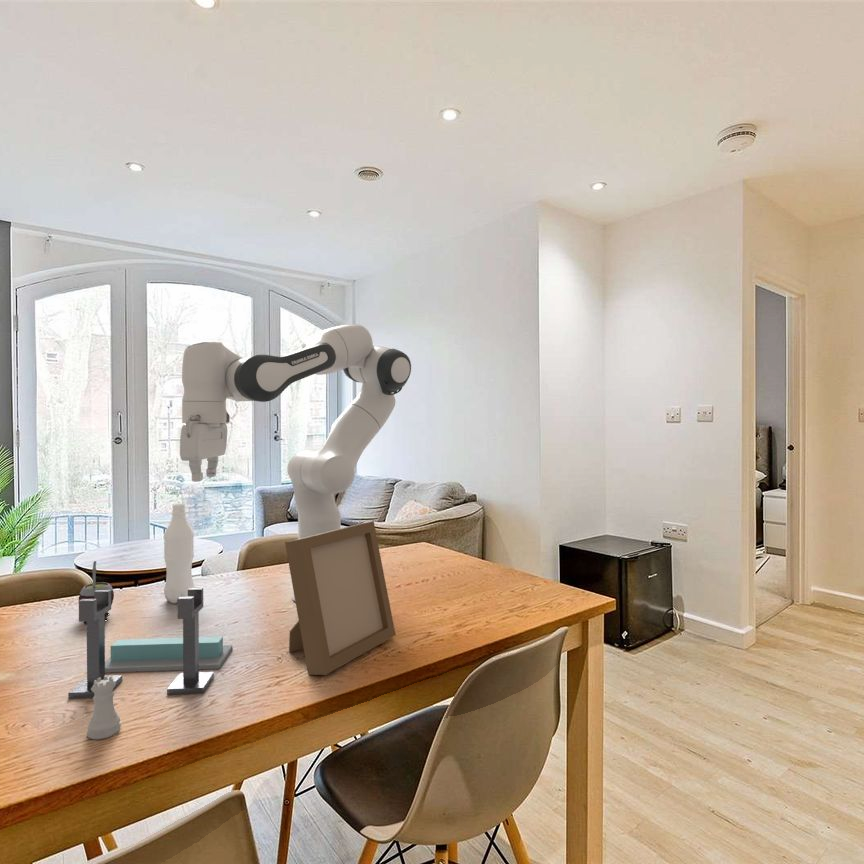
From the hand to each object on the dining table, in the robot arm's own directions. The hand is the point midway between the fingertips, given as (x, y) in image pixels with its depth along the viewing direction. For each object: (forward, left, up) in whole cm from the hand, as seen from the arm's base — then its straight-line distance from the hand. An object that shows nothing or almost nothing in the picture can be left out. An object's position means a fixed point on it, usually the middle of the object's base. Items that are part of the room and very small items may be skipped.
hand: (204, 479), depth 120 cm
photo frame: (-29, +11, -34) cm, 46 cm away
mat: (+3, +13, -34) cm, 37 cm away
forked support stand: (+3, +24, -34) cm, 42 cm away
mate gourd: (+28, -11, -34) cm, 46 cm away
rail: (+3, +13, -33) cm, 36 cm away
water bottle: (+14, -24, -34) cm, 44 cm away
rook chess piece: (+3, +38, -34) cm, 51 cm away
